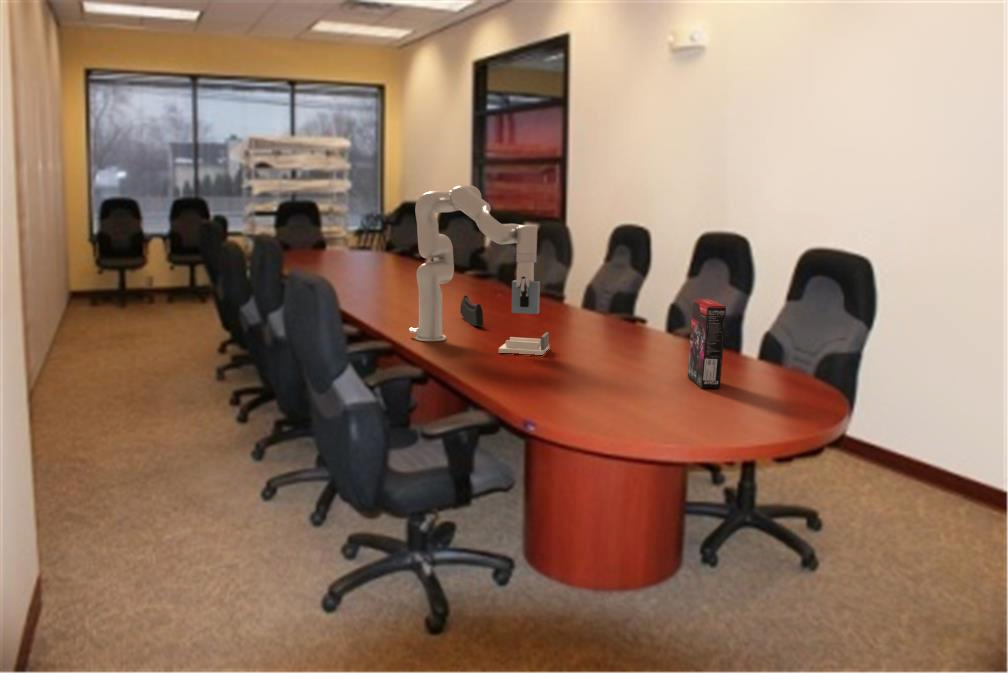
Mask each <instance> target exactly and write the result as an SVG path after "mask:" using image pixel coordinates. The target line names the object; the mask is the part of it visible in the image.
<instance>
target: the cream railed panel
mask: <svg viewBox="0 0 1008 673" xmlns="http://www.w3.org/2000/svg"><path fill="white" fill-rule="evenodd" d="M549 336H550V333H549V332H544V334H542V335H541V337H540V338H533V337H532V338H531V337H515V336H510V337H509V339H507V340H505V343H504V344H502V345H501V346H500V347H498V354H499V353H519V354H535V355H543V354H544V353H545V352H546V351H547V350H548V349H549V350H550V344H549V342H550V341H549V339H550V337H549ZM549 350H548V351H549ZM548 351H547V352H548ZM547 352H546V353H547ZM546 353H545V354H546ZM545 354H544V355H545ZM544 355H543V356H544Z"/></svg>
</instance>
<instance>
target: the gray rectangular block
mask: <svg viewBox="0 0 1008 673" xmlns="http://www.w3.org/2000/svg"><path fill="white" fill-rule="evenodd" d="M525 288H527V287H525ZM520 292H521V284H520V287H518V288H517V279H515V280H511V314H526V315H527V314H530V315H538V314H539V313H540V304H541V303H540V300H541V299H540V298H541V296H540V295H541V281H536V280H534V281H532V282H531V285H530V288H528V296H529V306H528V307H520Z"/></svg>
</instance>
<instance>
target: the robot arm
mask: <svg viewBox="0 0 1008 673" xmlns="http://www.w3.org/2000/svg"><path fill="white" fill-rule="evenodd" d="M456 211H461V212H463V213H464V214H465V215H466V216H468V218H470V219H471V220H473V221H474V222H475V223H476V226H477V227H478V229H479V231H480V232H481V233H482V234H483V235H484V236H486V238H488V239H489V240H490V241H492V242H494V243H496V244H498V245H508V244H509V245H510V244H516V262H517V273H516V280H517V288H518V287H520V284H521V292H520V307H528V306H529V296H528V288H530V285H531V282H532V281H535V277H534V276H535V273H534V272H535V269H534V268H535V266H534V265H535V263H537V248H538V247H537V245H538V244H537V243H538V228H537V226H536V225H534V224H533V225H532V224H518V223H501V222H499V221H498V220H497V219H495V218H494V217H493V216H492V215H491V214H490V212H491V204H489V203H488V202H487V201H486V200H484V199H483V198H482V193H481V191H480V189H479V188H477V186H474V185H457V186H455V187H453V188H451V190H432V191H431V190H430V191H428V192H425V193H423V194H422V195H420V196H419V197H418V199H417V200H416V203H415V211H414V212H415V219H416V229H417V230H416V231H417V246H418V253H419V255H420V256H421V257H422V258H424V259H433V260H432V261H427V262H424V263H422V264H420V265H419V267H418V268H417V270H416V282H417V288H418V327H416V328H413V327H410V328H409V333H410V334H416V335H415V336H414V339H415V340H416V341H419V342H441V341H442V342H443V341H445V340H446V339H447V336H446V335H445V334H443V293H442V289H441V286H440V285H442V284H447V283H449V282H450V281H451V280H453V277H454V274H455V273H454V272H455V264H454V249H453V244H452V241H451V239H450V238H449V237H448V236H447V235H446V234H444V233H443V234H442V233H440V231H439V222H438V219H437V217H436V215H435V214H437V213H453V212H456ZM525 287H527V288H525Z"/></svg>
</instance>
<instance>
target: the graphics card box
mask: <svg viewBox="0 0 1008 673" xmlns="http://www.w3.org/2000/svg"><path fill="white" fill-rule="evenodd" d="M726 313H727V305H723V304H721V303H719V302H717V301H715V300H712V299H711V298H697V299H693V300H692V312H691V326H690V336H689V337H690V340H689V352H688V353H689V354H688V365H687V366H688V367H687V368H688V369H687V378H688V379H690V380H691V381H692V382H693V383H694V384H696V385H697V386H699V387H700V388H701V389H720V388H721V379H722V368H723V367H722V364H723V354H724V341H725V340H724V339H725V338H724V337H725V328H726V327H725V326H726Z"/></svg>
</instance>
